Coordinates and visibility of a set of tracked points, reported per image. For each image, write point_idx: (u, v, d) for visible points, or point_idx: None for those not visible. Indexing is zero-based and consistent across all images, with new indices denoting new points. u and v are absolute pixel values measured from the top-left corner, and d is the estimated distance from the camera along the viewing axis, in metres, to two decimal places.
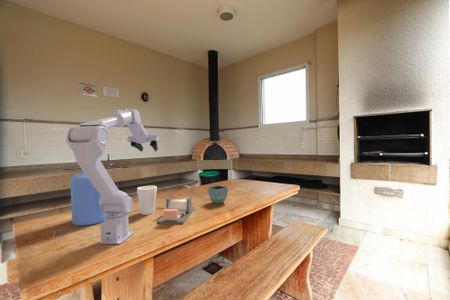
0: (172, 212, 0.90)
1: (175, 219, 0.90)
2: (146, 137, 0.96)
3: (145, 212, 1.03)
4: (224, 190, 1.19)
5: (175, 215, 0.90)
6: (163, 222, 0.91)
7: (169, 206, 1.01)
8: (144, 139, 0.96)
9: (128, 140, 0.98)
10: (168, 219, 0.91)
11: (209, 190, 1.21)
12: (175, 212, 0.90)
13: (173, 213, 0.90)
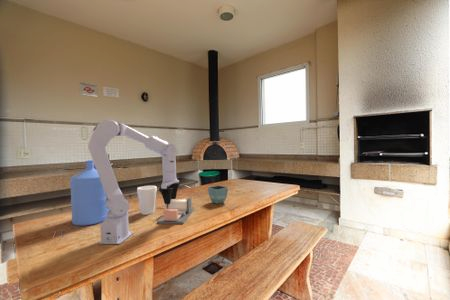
0: (172, 212, 0.90)
1: (175, 219, 0.90)
2: (165, 179, 0.89)
3: (145, 212, 1.03)
4: (224, 190, 1.19)
5: (175, 215, 0.90)
6: (163, 222, 0.91)
7: (169, 206, 1.01)
8: (163, 179, 0.90)
9: None
10: (168, 219, 0.91)
11: (209, 190, 1.21)
12: (175, 212, 0.90)
13: (173, 213, 0.90)
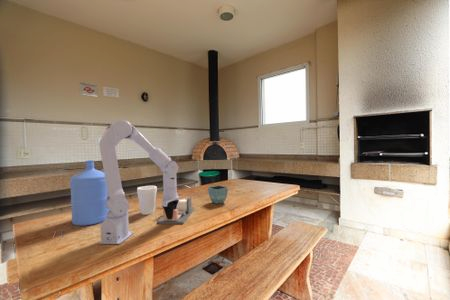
0: None
1: (175, 219, 0.90)
2: (166, 196, 0.89)
3: (145, 212, 1.03)
4: (224, 190, 1.19)
5: (175, 215, 0.90)
6: (163, 222, 0.91)
7: None
8: (164, 196, 0.90)
9: None
10: (168, 219, 0.91)
11: (209, 190, 1.21)
12: (175, 212, 0.90)
13: (173, 213, 0.90)
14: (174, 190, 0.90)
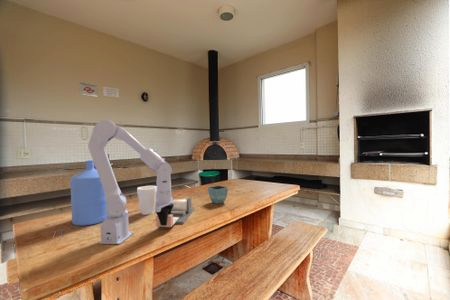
0: None
1: (169, 225, 0.84)
2: (159, 201, 0.82)
3: (145, 212, 1.03)
4: (224, 190, 1.19)
5: (169, 221, 0.84)
6: None
7: None
8: (157, 201, 0.83)
9: None
10: (162, 225, 0.84)
11: (209, 190, 1.21)
12: (169, 218, 0.84)
13: (167, 219, 0.84)
14: (168, 194, 0.83)
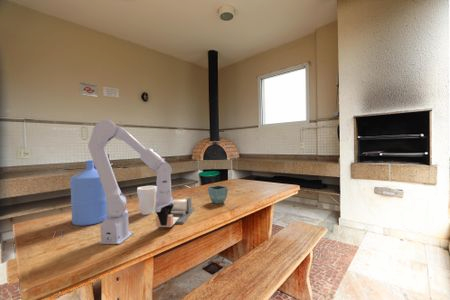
0: None
1: (169, 225, 0.84)
2: (159, 201, 0.82)
3: (145, 212, 1.03)
4: (224, 190, 1.19)
5: (169, 221, 0.84)
6: None
7: None
8: (157, 201, 0.83)
9: None
10: (162, 225, 0.84)
11: (209, 190, 1.21)
12: (169, 218, 0.84)
13: (167, 219, 0.84)
14: (168, 194, 0.83)
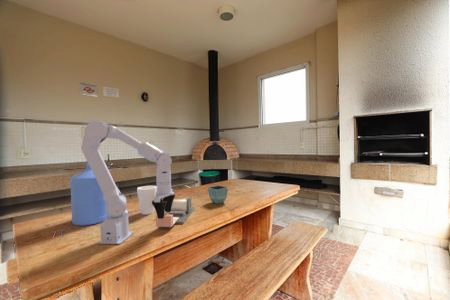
0: (166, 218, 0.84)
1: (169, 225, 0.84)
2: (159, 192, 0.82)
3: (145, 212, 1.03)
4: (224, 190, 1.19)
5: (169, 221, 0.84)
6: None
7: None
8: (157, 191, 0.83)
9: None
10: (162, 225, 0.84)
11: (209, 190, 1.21)
12: (169, 218, 0.84)
13: (167, 219, 0.84)
14: (168, 185, 0.83)
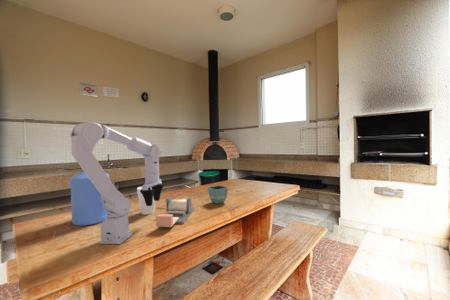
0: (166, 218, 0.84)
1: (169, 225, 0.84)
2: (147, 181, 0.87)
3: (145, 212, 1.03)
4: (224, 190, 1.19)
5: (169, 221, 0.84)
6: None
7: (169, 206, 1.01)
8: (145, 181, 0.88)
9: None
10: (162, 225, 0.84)
11: (209, 190, 1.21)
12: (169, 218, 0.84)
13: (167, 219, 0.84)
14: (156, 174, 0.88)
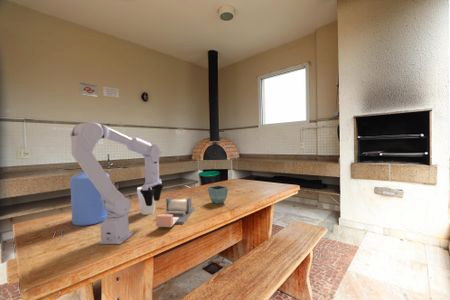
0: (166, 218, 0.84)
1: (169, 225, 0.84)
2: (147, 181, 0.87)
3: (145, 212, 1.03)
4: (224, 190, 1.19)
5: (169, 221, 0.84)
6: None
7: (169, 206, 1.01)
8: (145, 181, 0.88)
9: None
10: (162, 225, 0.84)
11: (209, 190, 1.21)
12: (169, 218, 0.84)
13: (167, 219, 0.84)
14: (156, 174, 0.88)
